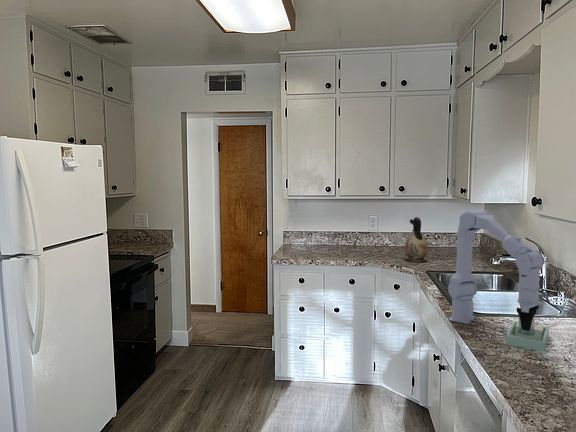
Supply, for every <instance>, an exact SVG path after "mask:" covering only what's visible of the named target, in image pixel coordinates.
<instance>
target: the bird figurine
mask: <svg viewBox="0 0 576 432" xmlns="http://www.w3.org/2000/svg"><path fill="white" fill-rule="evenodd" d="M409 224H411V225H412V230H411V232H410V234H409V236H408V237H407V239H405V240H406V241H405V244H404V253H405V255H406V257H408V260H409V261H410V262H419V263H420V262H423V261H424V260H425V258H426V257H427V255H428V253H429V246H428V242H427V240H426V238H425V237H424V235H423V234H422V233H421V232H422V231H421V229H422V220H421V218H420V217H419V216H416V217H414V218H411V219H410V220H409Z"/></svg>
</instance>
